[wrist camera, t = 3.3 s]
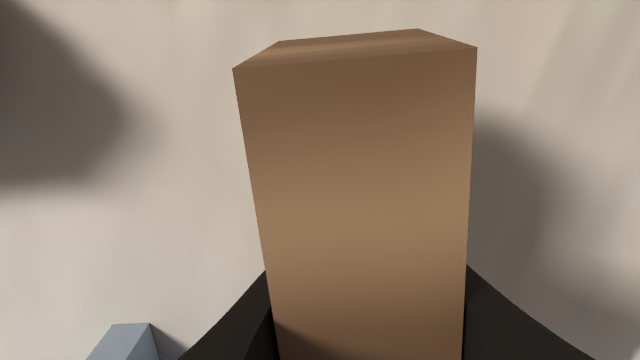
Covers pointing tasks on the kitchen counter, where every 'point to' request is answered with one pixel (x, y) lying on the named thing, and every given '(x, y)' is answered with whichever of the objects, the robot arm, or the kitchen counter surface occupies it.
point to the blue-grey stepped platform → (126, 344)
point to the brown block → (362, 191)
